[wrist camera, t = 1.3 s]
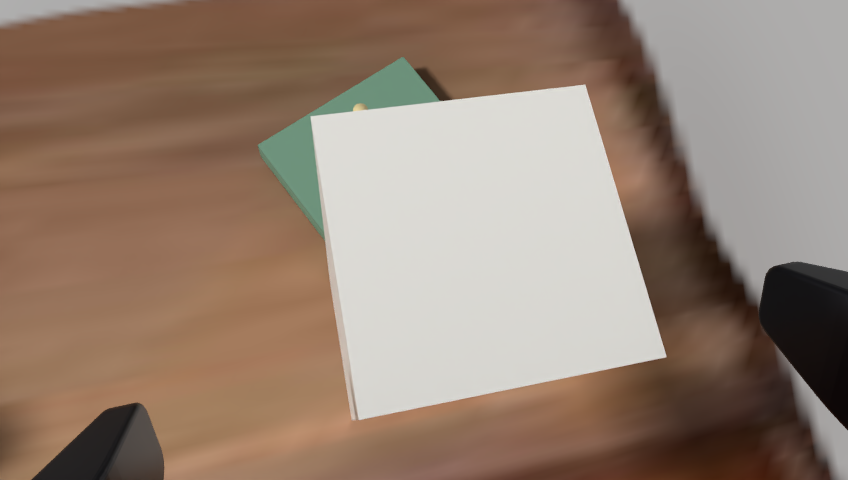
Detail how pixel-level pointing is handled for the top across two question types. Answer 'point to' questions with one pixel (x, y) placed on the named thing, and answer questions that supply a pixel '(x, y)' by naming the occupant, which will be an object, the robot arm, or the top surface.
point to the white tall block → (476, 249)
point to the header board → (295, 144)
